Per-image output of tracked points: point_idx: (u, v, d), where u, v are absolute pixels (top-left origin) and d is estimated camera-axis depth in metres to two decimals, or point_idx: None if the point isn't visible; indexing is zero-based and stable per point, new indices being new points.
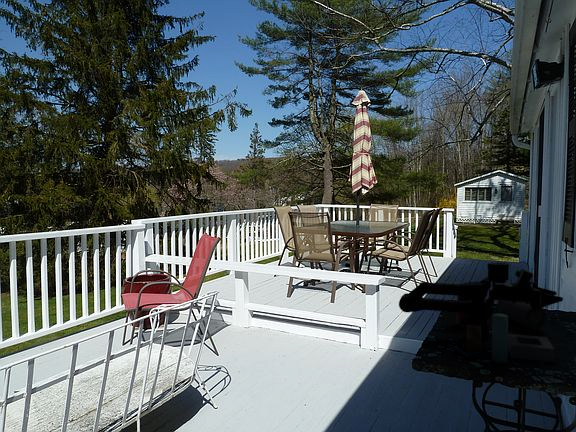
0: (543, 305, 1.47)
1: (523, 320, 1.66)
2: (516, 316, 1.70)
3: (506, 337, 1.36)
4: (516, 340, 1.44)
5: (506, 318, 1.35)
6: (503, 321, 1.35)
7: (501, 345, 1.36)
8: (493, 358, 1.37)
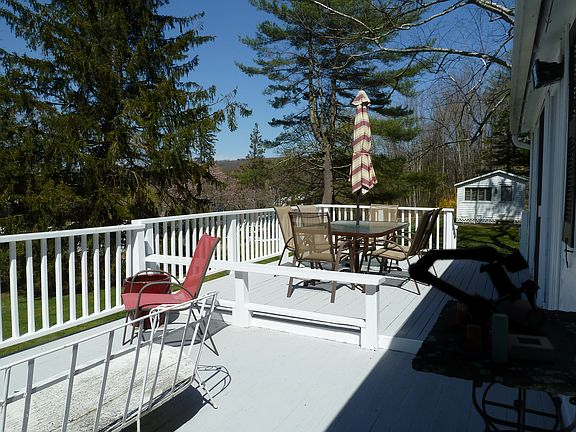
0: None
1: (523, 320, 1.66)
2: (516, 316, 1.70)
3: (506, 337, 1.36)
4: (516, 340, 1.44)
5: (506, 318, 1.35)
6: (503, 321, 1.35)
7: (501, 345, 1.36)
8: (493, 358, 1.37)
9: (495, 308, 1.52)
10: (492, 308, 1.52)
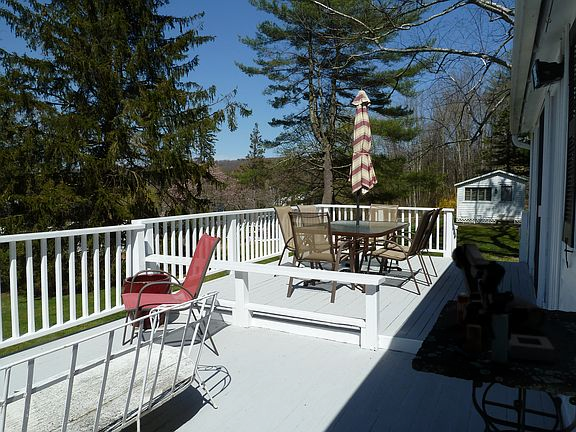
0: (480, 324, 1.42)
1: None
2: None
3: (506, 337, 1.36)
4: (516, 340, 1.44)
5: (506, 318, 1.35)
6: (503, 321, 1.35)
7: (501, 345, 1.36)
8: (493, 358, 1.37)
9: None
10: None
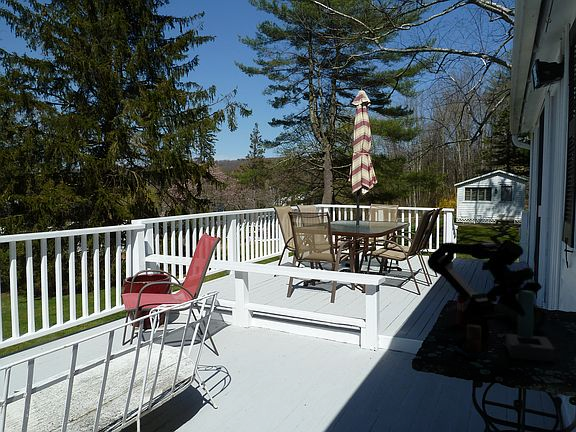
0: (504, 303, 1.43)
1: None
2: (516, 316, 1.70)
3: (533, 312, 1.40)
4: (516, 340, 1.44)
5: (533, 293, 1.40)
6: (532, 297, 1.39)
7: (531, 320, 1.39)
8: (522, 334, 1.40)
9: None
10: None
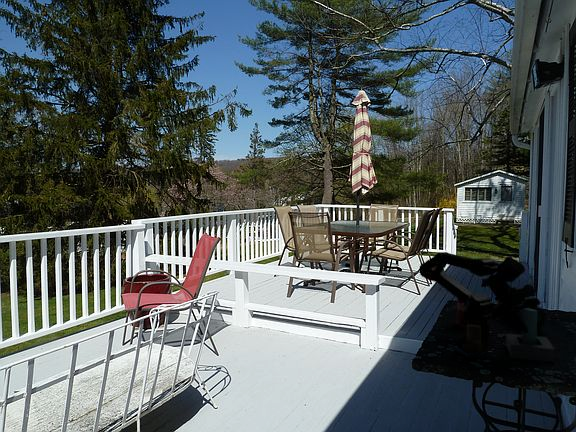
0: (506, 321, 1.44)
1: None
2: None
3: (536, 330, 1.43)
4: (516, 340, 1.44)
5: (536, 312, 1.42)
6: (536, 315, 1.41)
7: (535, 338, 1.42)
8: None
9: None
10: None
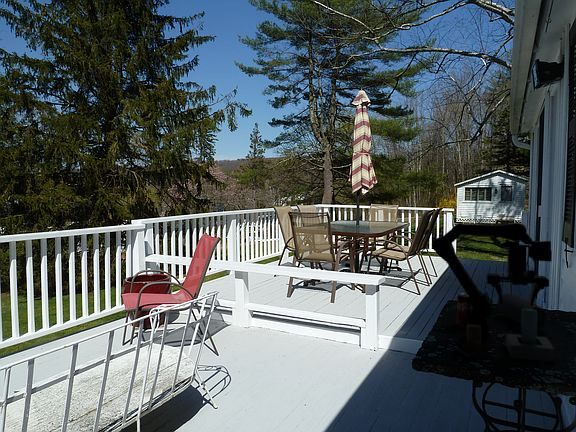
0: None
1: None
2: (516, 316, 1.70)
3: (536, 330, 1.43)
4: (516, 340, 1.44)
5: None
6: (536, 315, 1.41)
7: (535, 338, 1.42)
8: None
9: None
10: None
